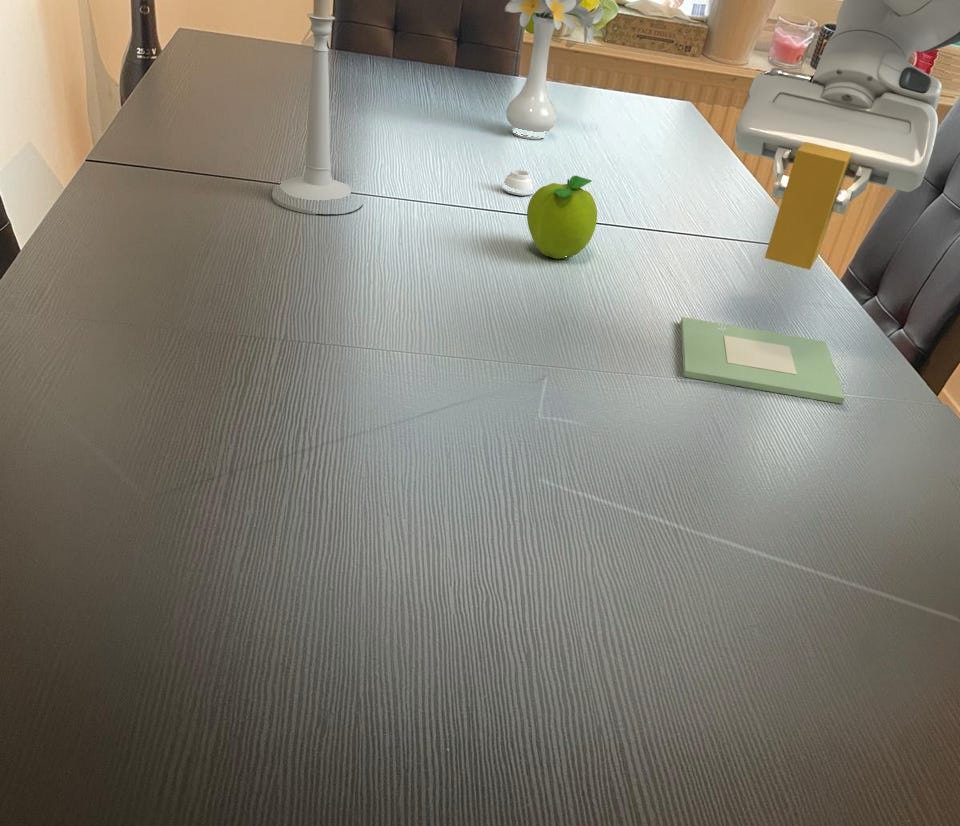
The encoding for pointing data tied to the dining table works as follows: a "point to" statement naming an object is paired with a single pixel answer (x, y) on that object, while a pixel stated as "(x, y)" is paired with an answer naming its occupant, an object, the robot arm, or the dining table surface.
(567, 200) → the fruit
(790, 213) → the yellow box
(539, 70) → the flower vase
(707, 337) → the mat
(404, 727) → the dining table surface
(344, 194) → the candlestick
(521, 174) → the white jar
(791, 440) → the dining table surface
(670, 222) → the dining table surface
